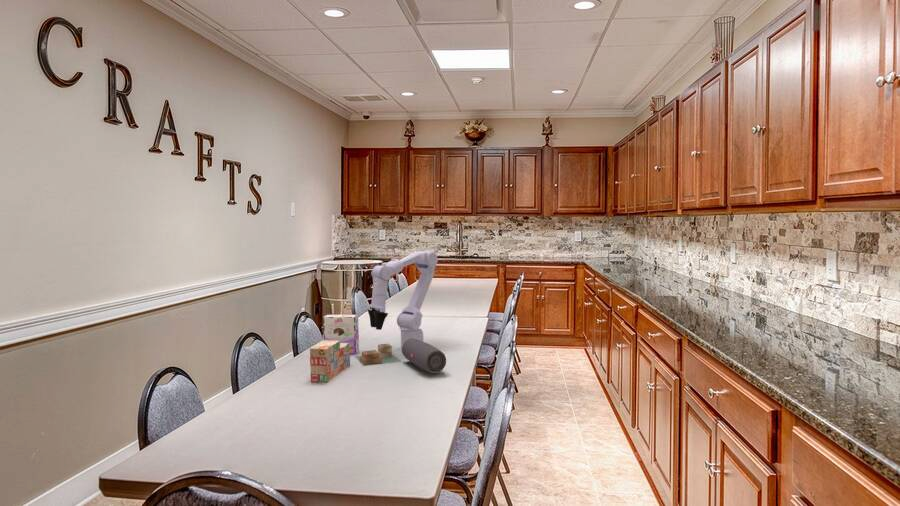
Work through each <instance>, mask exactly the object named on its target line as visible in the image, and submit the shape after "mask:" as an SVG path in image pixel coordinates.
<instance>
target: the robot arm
mask: <svg viewBox="0 0 900 506" xmlns="http://www.w3.org/2000/svg"><path fill="white" fill-rule="evenodd" d="M438 262H439V259H438V256H437V253H436V252H435V251H433V250H432V251H431V250H430V251H428V250H427V251H425V250H415V251H413V252H412V253H410V254H408V255H406V256H405V257H402V258H401V259H398V258H393V257H392V258H391V259H390V261H388V262H383V263H382V265H379V264H378V265H375V266H374V267H373V268H372V271H371V272H370V274H371V277H372V283H373V284H372V292H371V293H372V295H371V303H370V304H368V305H367V306H368V307H369V308H370V309H367V312H368V315H369V321H370V327H371V328H375V330H379V331H382V329H383V326H384V323H385V321H386V318H387V317H388V315H389V313H388V312H386V307H387V306H386V302H387V292H388V280H390V279H391V278H392V276H394V275H396V274H398V273H400V272H402V271H403V269H404V268H405V267H407V266H410V265H412V264H414V265H415V266H416V268H417V270H418V271H419V272H420V276H419V278H418V280H417V283H416V286H415V288H414V290H413V292H412V295H411V298H410V300H409V302H408V304H407V306H405V307H404V308H403V309H402V310H401V312H400V313H399V314H398V316H397V317H396V325H397V326H398V327H399V330H400V347H399V346H398V347H397V349H398V350H400V351H401V352H402V346H403V344H404V343H405V341H406V340H408V339H418V340H421V341H423V342H425V340H424V331H423V329H422V328H420V327H421V326H422V318H423V314H422V312H421V308H422V306H423V303H424V301H425V299H426V296H427V293H428V291H429V288H430V285H431V284H432V281H433V278H434V276H435V270H436V266H437V263H438Z"/></svg>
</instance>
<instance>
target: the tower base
mask: <svg viewBox="0 0 900 506" xmlns="http://www.w3.org/2000/svg"><path fill="white" fill-rule="evenodd" d="M359 356H360V361H359V362H360V364H362V365H363V366H364V365H368V366H374V365H373V364H377V365H382V364H381V363H382V358H381V357H379V358H376V359H367V360H365V359H364V358H363V357H362V356H361V355H359Z"/></svg>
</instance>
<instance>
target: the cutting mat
mask: <svg viewBox="0 0 900 506" xmlns="http://www.w3.org/2000/svg"><path fill="white" fill-rule="evenodd" d="M360 356H362V354H361V355H354V358H356V359H357V361H359V362H360ZM379 357H380V356H379ZM398 362H399V363H401V362H402V360H400V359H399V358H398V357H396V356H395V355H394V354H392V357H385V358H382V363H381V364H380V365H385V364H393V363H398ZM376 365H378V364H373V365H372V366H376ZM363 366H364V367H366V366H367V367H368V366H369V365H363Z"/></svg>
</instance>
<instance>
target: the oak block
mask: <svg viewBox="0 0 900 506" xmlns="http://www.w3.org/2000/svg"><path fill="white" fill-rule="evenodd" d="M377 352H378V353H379V356H380V357H381V358H385V357H392V355H393V346H392V344H390V343H379V344H377Z"/></svg>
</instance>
